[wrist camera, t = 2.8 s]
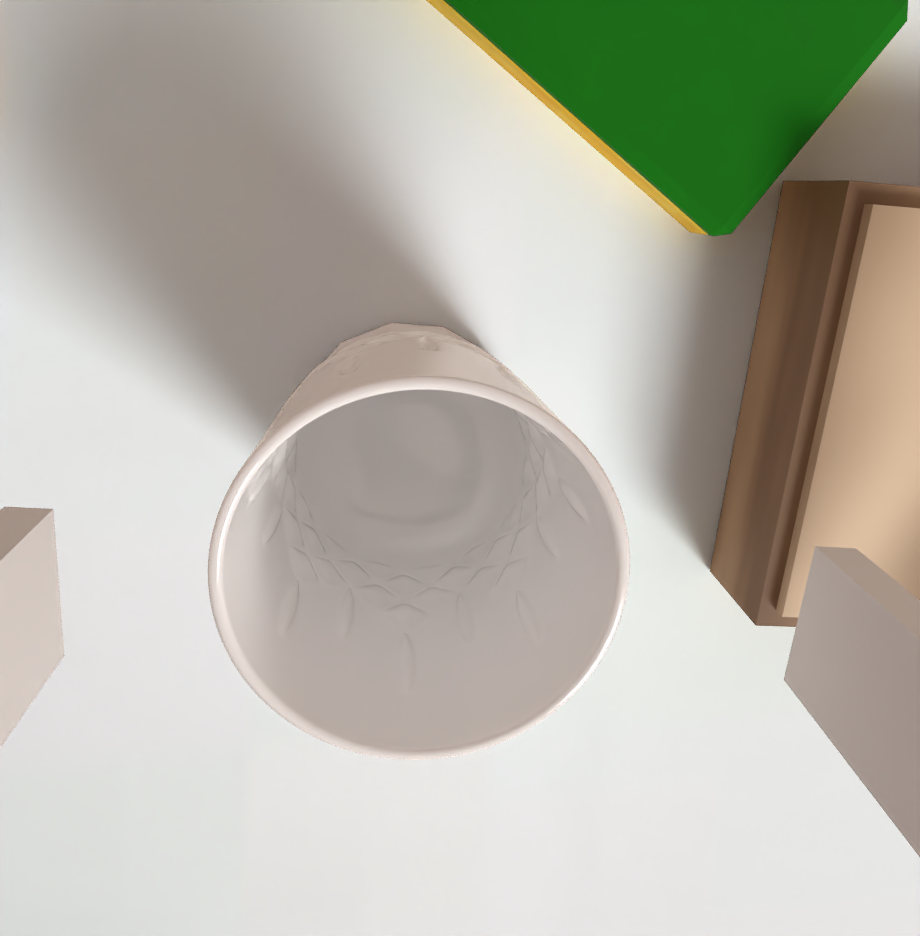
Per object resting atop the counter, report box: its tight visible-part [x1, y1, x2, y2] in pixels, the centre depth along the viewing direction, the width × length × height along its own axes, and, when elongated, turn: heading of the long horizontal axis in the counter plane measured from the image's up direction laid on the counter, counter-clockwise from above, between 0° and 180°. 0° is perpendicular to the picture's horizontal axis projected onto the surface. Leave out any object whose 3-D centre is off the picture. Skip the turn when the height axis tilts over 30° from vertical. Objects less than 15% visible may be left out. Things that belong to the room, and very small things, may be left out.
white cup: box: [208, 323, 630, 760], centre depth 21 cm, size 8×8×10 cm
